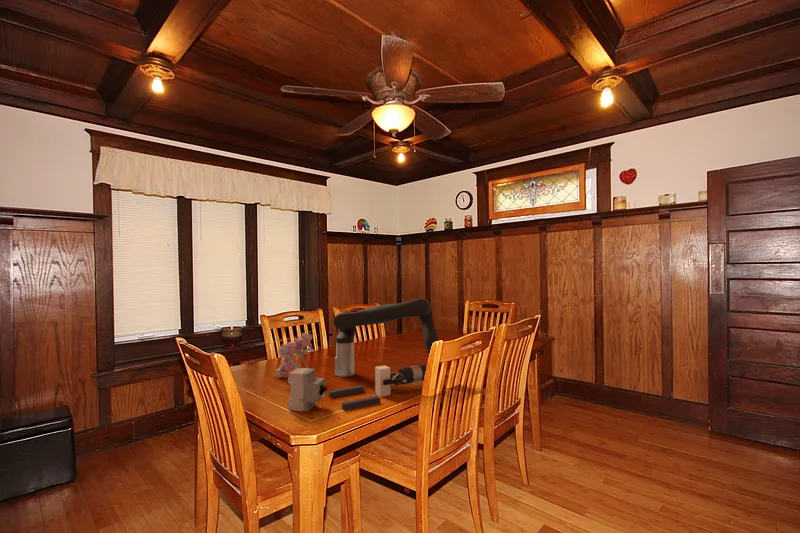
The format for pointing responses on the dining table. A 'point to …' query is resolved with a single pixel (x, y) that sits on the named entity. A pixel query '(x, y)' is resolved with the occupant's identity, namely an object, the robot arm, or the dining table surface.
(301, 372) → the circuit breaker
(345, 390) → the dark gray parallel rails
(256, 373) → the dining table surface
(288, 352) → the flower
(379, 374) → the plug block
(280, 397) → the dining table surface
